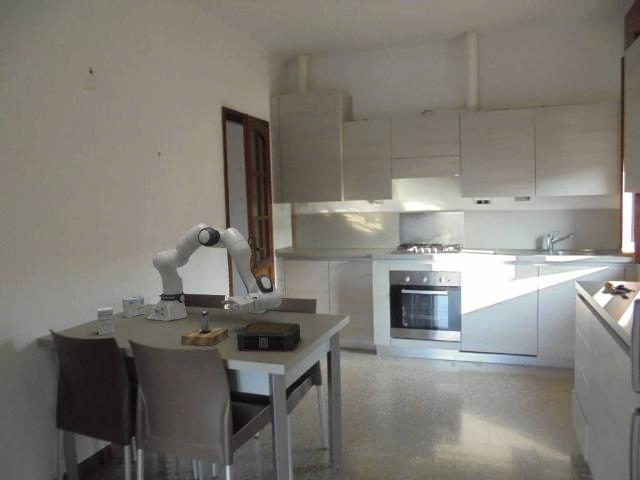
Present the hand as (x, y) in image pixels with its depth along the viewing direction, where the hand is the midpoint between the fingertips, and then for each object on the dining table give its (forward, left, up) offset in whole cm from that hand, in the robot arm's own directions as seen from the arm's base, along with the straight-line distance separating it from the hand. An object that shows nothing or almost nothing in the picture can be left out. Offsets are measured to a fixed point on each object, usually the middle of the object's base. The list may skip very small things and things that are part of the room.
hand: (224, 305), depth 239 cm
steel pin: (-6, -10, -15) cm, 19 cm away
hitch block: (-6, -10, -15) cm, 19 cm away
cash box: (+27, -11, -16) cm, 33 cm away
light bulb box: (-75, +30, -15) cm, 82 cm away
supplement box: (-65, -6, -15) cm, 67 cm away
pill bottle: (-3, +48, -15) cm, 50 cm away
